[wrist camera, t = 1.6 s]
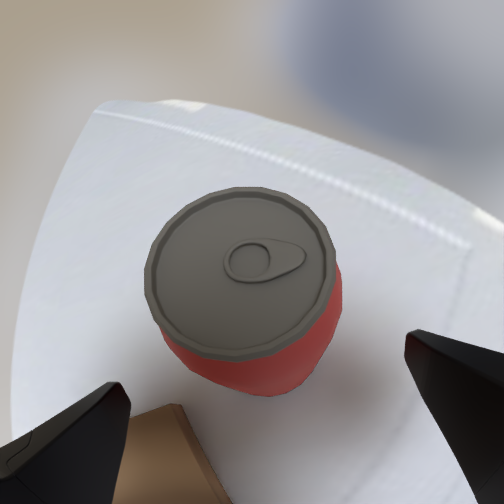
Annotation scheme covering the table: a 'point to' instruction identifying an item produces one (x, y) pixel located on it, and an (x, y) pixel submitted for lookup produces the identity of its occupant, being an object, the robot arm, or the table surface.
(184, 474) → the walnut block
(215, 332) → the beer can
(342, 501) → the table surface
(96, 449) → the robot arm
